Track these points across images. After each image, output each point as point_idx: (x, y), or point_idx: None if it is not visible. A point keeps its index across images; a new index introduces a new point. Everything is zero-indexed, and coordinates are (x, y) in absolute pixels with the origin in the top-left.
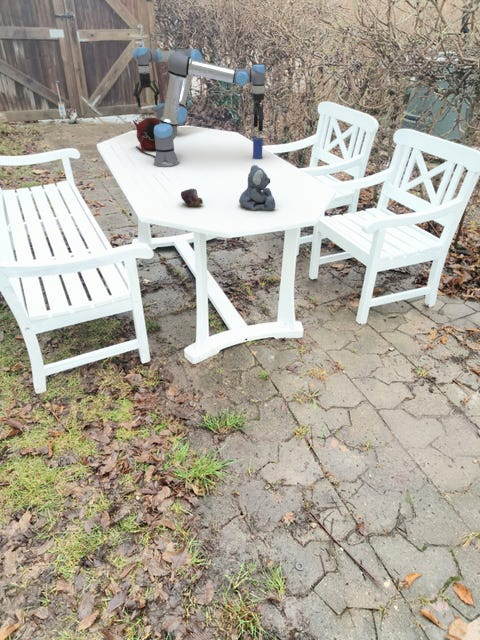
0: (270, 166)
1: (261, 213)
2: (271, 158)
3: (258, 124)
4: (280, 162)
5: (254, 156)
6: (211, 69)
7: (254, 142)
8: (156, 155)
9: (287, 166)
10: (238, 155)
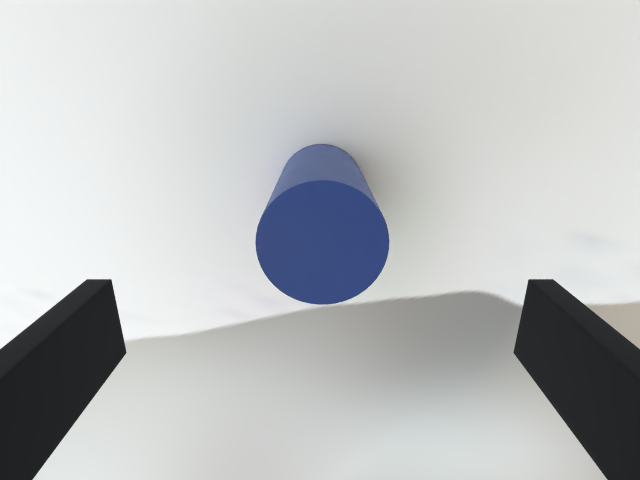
0: (45, 226)
1: None
2: None
3: (17, 362)
4: (156, 322)
5: (296, 154)
6: None
7: (288, 180)
8: None
9: None
10: (460, 14)
